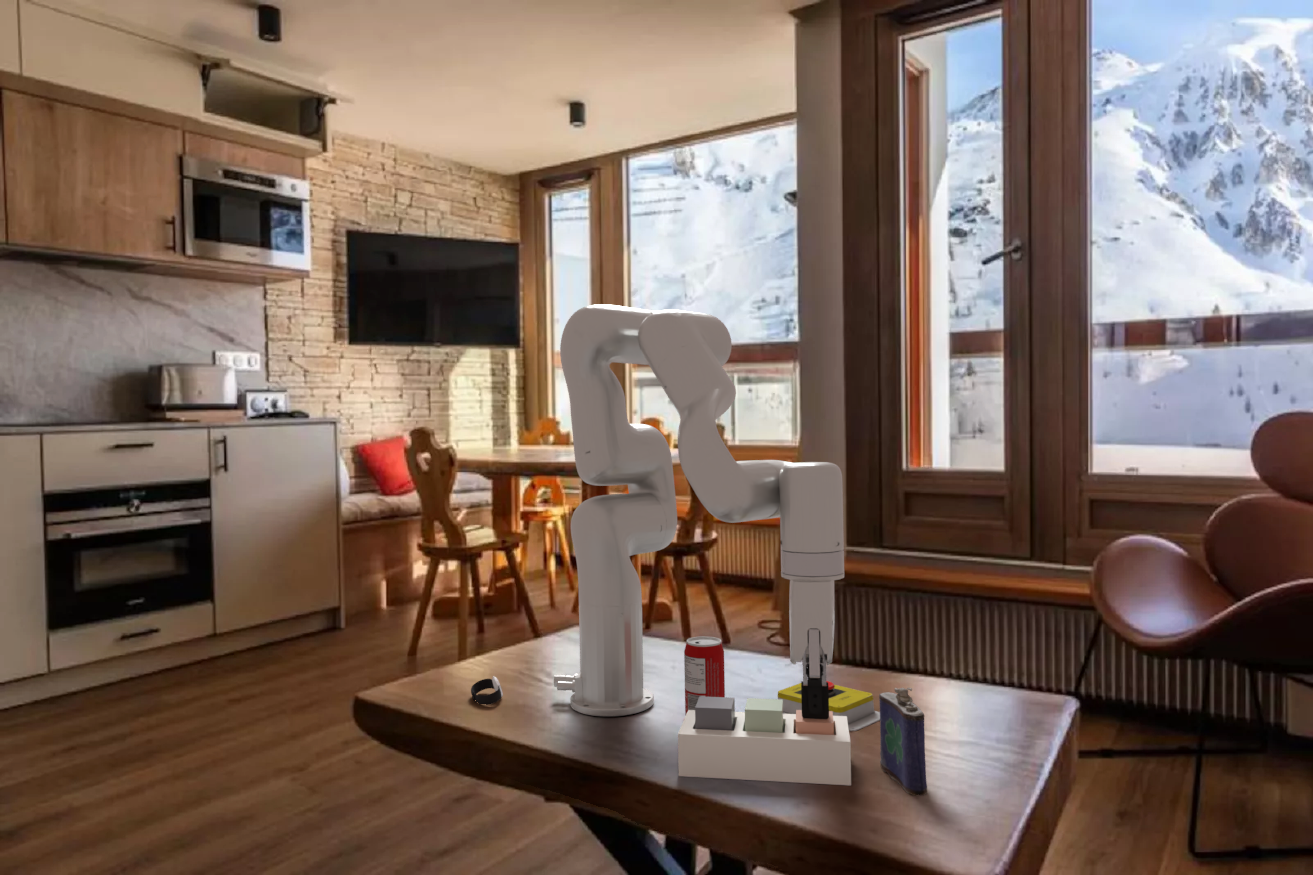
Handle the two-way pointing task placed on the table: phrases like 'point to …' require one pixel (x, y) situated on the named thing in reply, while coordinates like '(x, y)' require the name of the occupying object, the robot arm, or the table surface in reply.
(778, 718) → the sage key
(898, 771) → the flask
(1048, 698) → the table surface
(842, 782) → the key block
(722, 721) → the charcoal key
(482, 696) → the watch
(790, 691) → the emergency button
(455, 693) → the table surface
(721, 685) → the soda can
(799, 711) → the terracotta key
